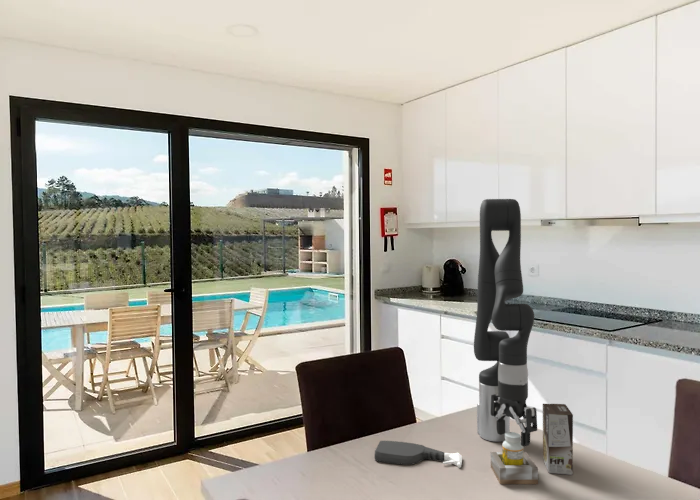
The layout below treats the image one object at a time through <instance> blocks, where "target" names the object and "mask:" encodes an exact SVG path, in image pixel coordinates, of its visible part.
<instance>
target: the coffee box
mask: <svg viewBox="0 0 700 500" xmlns="http://www.w3.org/2000/svg"><path fill="white" fill-rule="evenodd" d="M573 419H574V414H573V412H572V411H571V410H570V408H569V407H568V405H566V404H565V403H542V460H543V462H544V464H545V467H546V469H547V472H548V473H549V474H559V475H570V476H573V473H574V472H573V469H574V468H573V463H574V461H573V457H574V456H573V455H574V451H573V449H574V447H573V446H574V443H573V442H574V441H573V440H574V437H573V436H574V435H573V433H574V420H573Z"/></svg>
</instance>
